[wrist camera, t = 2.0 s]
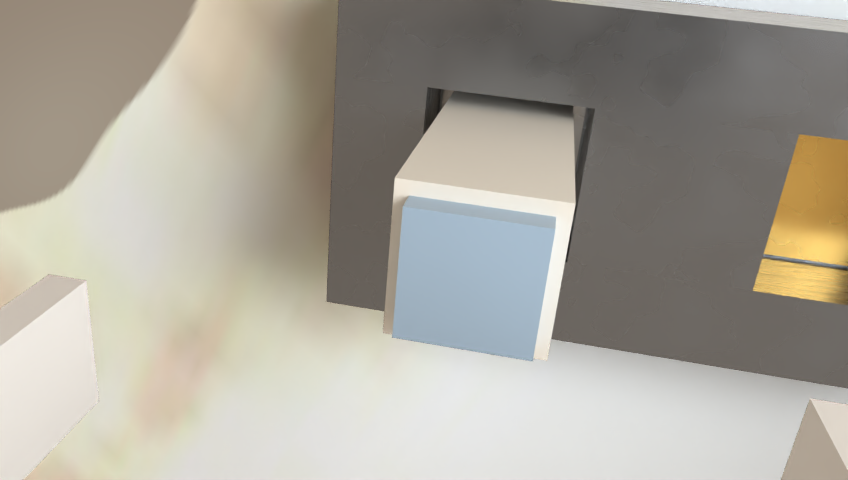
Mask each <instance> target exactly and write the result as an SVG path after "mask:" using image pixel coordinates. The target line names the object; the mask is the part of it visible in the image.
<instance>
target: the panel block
mask: <svg viewBox="0 0 848 480" xmlns="http://www.w3.org/2000/svg"><path fill="white" fill-rule="evenodd" d="M454 91H461V92H469V93H477V94H485V95H492V96H500V97H508V98H516V99H524V100H532V101H540V102H548V103H556V104H564V105H571V106H573V113H574V156H575V199H576V204H575V210H574V215H573V221H572V226H571V232H570V237H569V243H568V248H567V254H566V259H565V265H564V270H563V276H562V281H561V287H560V293H559V298H558V304H557V309H556V315H555V320H554V326H553V331H552V337H551V339H555V340H561V341H567V342H573V343H579V344H585V345H591V346H597V347H603V348H609V349H615V350H621V351H627V352H633V353H639V354H645V355H651V356H657V357H663V358H669V359H675V360H681V361H687V362H693V363H699V364H705V365H711V366H717V367H723V368H729V369H735V370H741V371H747V372H753V373H759V374H765V375H771V376H777V377H783V378H789V379H795V380H801V381H807V382H813V383H819V384H825V385H831V386H837V387H843V388H848V21H847V20H838V19H828V18H819V17H810V16H800V15H791V14H782V13H772V12H763V11H754V10H745V9H735V8H726V7H717V6H707V5H698V4H689V3H679V2H670V1H661V0H339V6H338V31H337V56H336V80H335V105H334V130H333V155H332V179H331V204H330V229H329V254H328V278H327V302H332V303H338V304H344V305H350V306H356V307H362V308H368V309H374V310H380V311H385V299H386V286H387V273H388V260H389V246H390V233H391V220H392V207H393V194H394V181H395V177H396V175H397V174H398V172H399V171H400V169H401V168H402V166H403V165H404V164H405V162H406V161H407V159H408V158H409V156H410V155H411V153H412V152H413V150H414V149H415V147H416V146H417V145H418V143H419V142H420V140H421V139H422V137H423V136H424V134H425V133H426V131H427V130H428V129H429V127H430V126H431V124H432V123H433V121H434V120H435V118H436V117H437V115H438V114H439V112H440V111H441V110H442V108H443V107H444V105H445V104H446V102H447V101H448V99H449V98H450V96H451V95H452V94H453V92H454Z"/></svg>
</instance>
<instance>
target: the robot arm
mask: <svg viewBox="0 0 848 480" xmlns="http://www.w3.org/2000/svg"><path fill="white" fill-rule="evenodd" d="M98 401H99V394H98V384H97V375H96V366H95V357H94V347H93V338H92V329H91V319H90V310H89V301H88V291H87V282H86V280H80V279H74V278H68V277H62V276H56V275H50V274H49V275H47V276H46V277H44V278H43V279H42V280H40V281H39V282H37V283H36V284H34V285H33V286H31V287H30V288H29V289H27V290H26V291H24V292H23V293H21V294H20V295H19V296H17V297H16V298H14V299H13V300H11V301H10V302H8V303H7V304H6V305H4V306H3V307H1V308H0V480H24V479H25V478H26V477H27V476H28V475H29V474H30V472H31V471H32V470H33V469H34V468H35V467H36V466H37V465H38V464H39V463H40V462H41V461H42V460H43V459H44V458H45V457H46V456H47V455H48V454H49V453H50V452H51V451H52V449H53V448H54V447H55V446H56V445H57V444H58V443H59V442H60V441H61V440H62V439H63V438H64V437H65V436H66V435H67V434H68V433H69V432H70V431H71V430H72V429H73V428H74V426H75V425H76V424H77V423H78V422H79V421H80V420H81V419H82V418H83V417H84V416H85V415H86V414H87V413H88V412H89V411H90V410H91V409H92V408H93V407H94V406H95V405H96V403H97V402H98ZM781 480H848V405H847V404H841V403H835V402H829V401H823V400H817V399H811V398H810V400H809V403H808V405H807V408H806V411H805V414H804V417H803V419H802V422H801V425H800V428H799V431H798V433H797V436H796V439H795V442H794V445H793V447H792V450H791V453H790V456H789V459H788V461H787V464H786V467H785V470H784V472H783V475H782V478H781Z"/></svg>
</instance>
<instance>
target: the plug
mask: <svg viewBox="0 0 848 480" xmlns="http://www.w3.org/2000/svg"><path fill="white" fill-rule="evenodd" d="M575 204H576V199H575V156H574V113H573V106H571V105H564V104H556V103H548V102H540V101H532V100H524V99H516V98H508V97H500V96H492V95H485V94H477V93H469V92H461V91H454V92H453V94H452V95H451V96H450V98H449V99H448V101H447V102H446V104H445V105H444V107H443V108H442V110H441V111H440V112H439V114H438V115H437V117H436V118H435V120H434V121H433V123H432V124H431V126H430V127H429V129H428V130H427V131H426V133H425V134H424V136H423V137H422V139H421V140H420V142H419V143H418V145H417V146H416V147H415V149H414V150H413V152H412V153H411V155H410V156H409V158H408V159H407V161H406V162H405V164H404V165H403V166H402V168H401V169H400V171H399V172H398V174H397V175H396V177H395V181H394V194H393V207H392V220H391V233H390V246H389V260H388V273H387V286H386V299H385V312H384V325H383V333H387V334H392V337H393V338H399V339H405V340H411V341H416V342H422V343H428V344H434V345H440V346H446V347H452V348H457V349H463V350H469V351H475V352H481V353H487V354H493V355H498V356H504V357H510V358H516V359H522V360H528V361H533V358H534V359H540V360H546V361H547V359H548V353H549V348H550V342H551V337H552V331H553V326H554V320H555V315H556V309H557V304H558V298H559V293H560V287H561V281H562V276H563V270H564V265H565V259H566V254H567V248H568V243H569V237H570V232H571V226H572V221H573V215H574V210H575Z"/></svg>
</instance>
